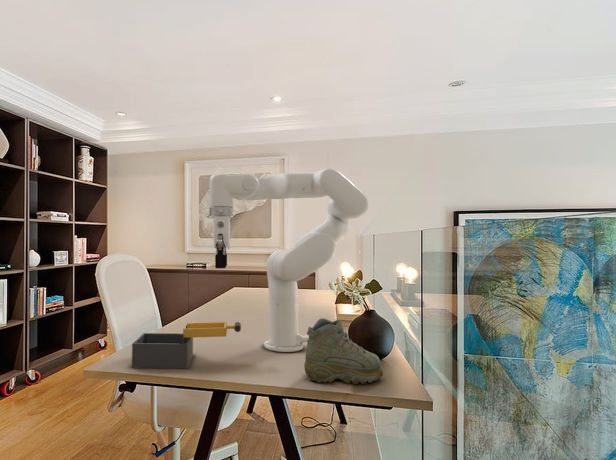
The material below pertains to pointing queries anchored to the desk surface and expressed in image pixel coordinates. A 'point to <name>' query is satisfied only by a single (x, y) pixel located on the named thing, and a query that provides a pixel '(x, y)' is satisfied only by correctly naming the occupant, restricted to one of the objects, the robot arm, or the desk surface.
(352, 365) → the sneaker
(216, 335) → the tipping tray
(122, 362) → the desk surface
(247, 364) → the desk surface
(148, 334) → the bin
